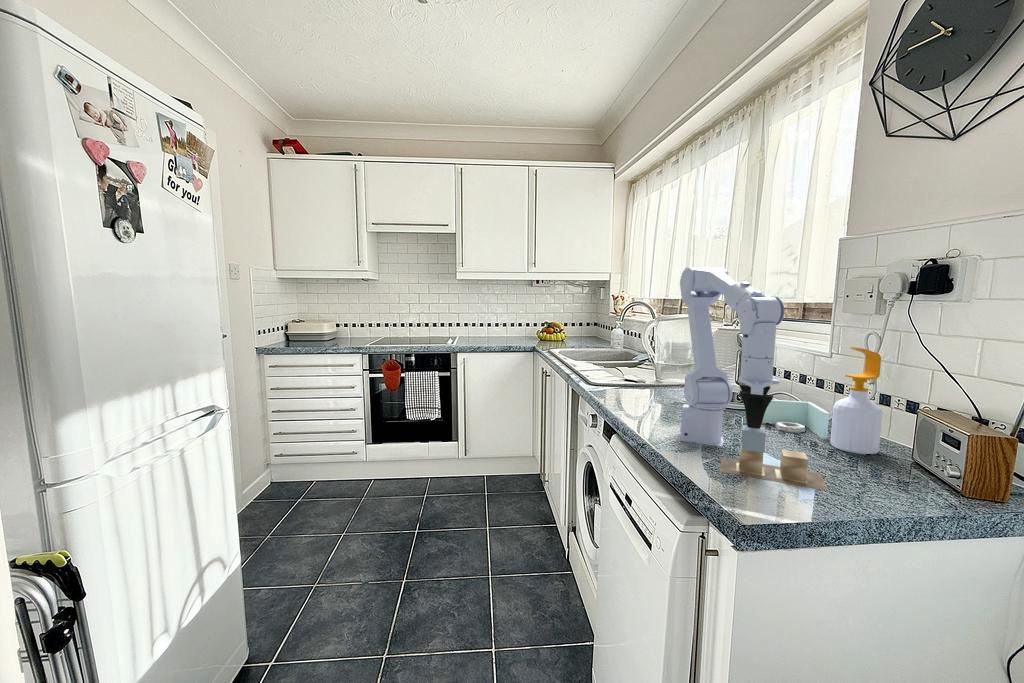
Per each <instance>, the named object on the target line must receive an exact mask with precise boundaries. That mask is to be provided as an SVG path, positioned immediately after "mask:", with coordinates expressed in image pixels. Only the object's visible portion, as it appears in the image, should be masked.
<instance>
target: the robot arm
mask: <svg viewBox="0 0 1024 683" xmlns="http://www.w3.org/2000/svg"><path fill="white" fill-rule="evenodd" d="M679 286H680V288H679V289H680V296H681V301H682V303H683V304H685V305H686V306H687V315H688V322H689V333H690V339H691V340H690V341H691V348H692V355H693V356H692V357H693V358H692V359H693V363H694V364H693V366H694V368H693V369H692V370H691V371H689V372H688V373H686V375H685V376H684V388H683V396H684V399H685V401H686V402H687V404H683V405H682V410H681V420H680V426H679V427H680V430H679V431H680V439H679V440H680V441H682V442H691V443H696V444H702V445H709V446H717V447H723V445H724V444H723V443H724V437H723V436H722V432H723V418H724V416H723V415H724V414H723V413H724V409H727V406H728V405H729V404H730V403H731V401H732V399H733V389H732V385H731V384H730V381H729V377H728V374H727V373H726V372H724V371H723V370H722V369H720V368H719V367H718V365H717V360H716V354H715V353H716V352H715V344H714V338H713V331H712V330H713V329H712V323H711V316H710V306H711V305H713V304H715V303H717V302H718V300H719V298H720V297H721V295H723V300H724V302H725V304H726V305H727V306H728V307H730V308H731V309H732V310H733V311H735V313H737V319H738V322H739V332H740V333H741V334H742V340H741V356H740V357H741V358H740V375H739V377H738V381H739V382H740V384H739V388H740V390H739V396H740V397H741V400H742V402H743V405H744V410H745V418H746V420H745V421H746V426H748V427H749V428H757V429H760V427H761V428H762V424H763V423H762V421H763V418H764V414H765V411H766V409H767V407H768V405H769V403H770V402H771V401H772V400H774V395H773V394H768V392H769V391H770V389H771V386H772V385H780V380H779V379H777V378H774V365H775V364H774V363H775V353H776V352H775V349H776V336H777V335H776V334H777V326H778V325H780V324H781V323H782V321H783V319H784V317H785V312H786V311H785V304H784V302H783V300H782V299H780V297H779V296H776V295H775V296H765V295H764V294H763V292H762V291H761V290H756V289H755V288H754V287H752V286H751V283H750V282H749V281H739V282H736V281H735V280H733V279H732V278H731V277H730V276H729V271H728V269H725V268H724V267H721V266H720V267H691V266H687V267H685V268H684V269H683V271H682V273H681V276H680V280H679Z"/></svg>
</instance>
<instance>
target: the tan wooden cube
mask: <svg viewBox="0 0 1024 683" xmlns="http://www.w3.org/2000/svg"><path fill="white" fill-rule="evenodd" d="M808 464H809V458H808V456H807V454H806V453H805V452H801V451H794V450H793V451H792V450H788V449H781V453H780V464H779V465H780V466H779V467H780V473H781V477H782V478H785V479H791V480H797V481H803V482H806V481H807V471H808V467H809V466H808Z"/></svg>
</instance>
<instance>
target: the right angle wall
mask: <svg viewBox="0 0 1024 683" xmlns="http://www.w3.org/2000/svg"><path fill="white" fill-rule="evenodd" d="M829 418H830V412H828V411H827V410H826V409H823V408H822V407H820V406H818V405H817V404H815V403H813V402H811V401H798V400H783V399H782V400H780V399H772V401H771V402H770V403H769V405H768V407H767V409H766V411H765V414H764V418H763V421H762V424H766V423H769V425H770V424H771V425H774V427H775V429H776V430H779V431H783V432H786V433H791V434H793V433H794V434H798V433H799V434H800V433H805V431H806V428H807V429H808V428H809V429H808V430H810V431H811V432H812V431H813V432H812V433H813V434H815V435H816V434H817V437H818V438H821V439H823V440H828V433H829V432H828V431H829V421H830V419H829ZM805 426H806V427H805Z"/></svg>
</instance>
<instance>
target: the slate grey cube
mask: <svg viewBox="0 0 1024 683" xmlns="http://www.w3.org/2000/svg"><path fill="white" fill-rule="evenodd" d="M766 435H767V433H766V428H765V427H762V426H761V427H760V429H757V428H749V427H748V426H747V425H744V424H743V425H742V431H741V444H742V450H749V451H756V452H762V453H763V454H765V452H766V438H767V437H766Z"/></svg>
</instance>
